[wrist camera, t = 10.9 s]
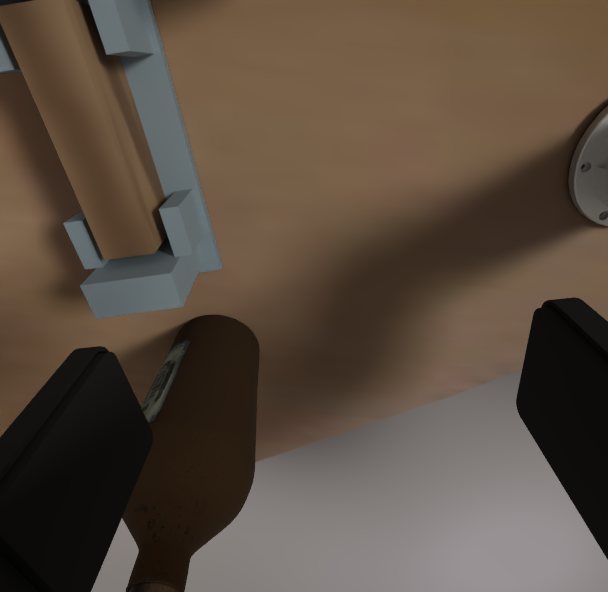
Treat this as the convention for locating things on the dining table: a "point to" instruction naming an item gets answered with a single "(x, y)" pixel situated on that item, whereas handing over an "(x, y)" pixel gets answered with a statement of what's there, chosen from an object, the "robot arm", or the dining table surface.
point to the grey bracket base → (170, 167)
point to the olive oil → (194, 449)
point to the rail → (90, 122)
